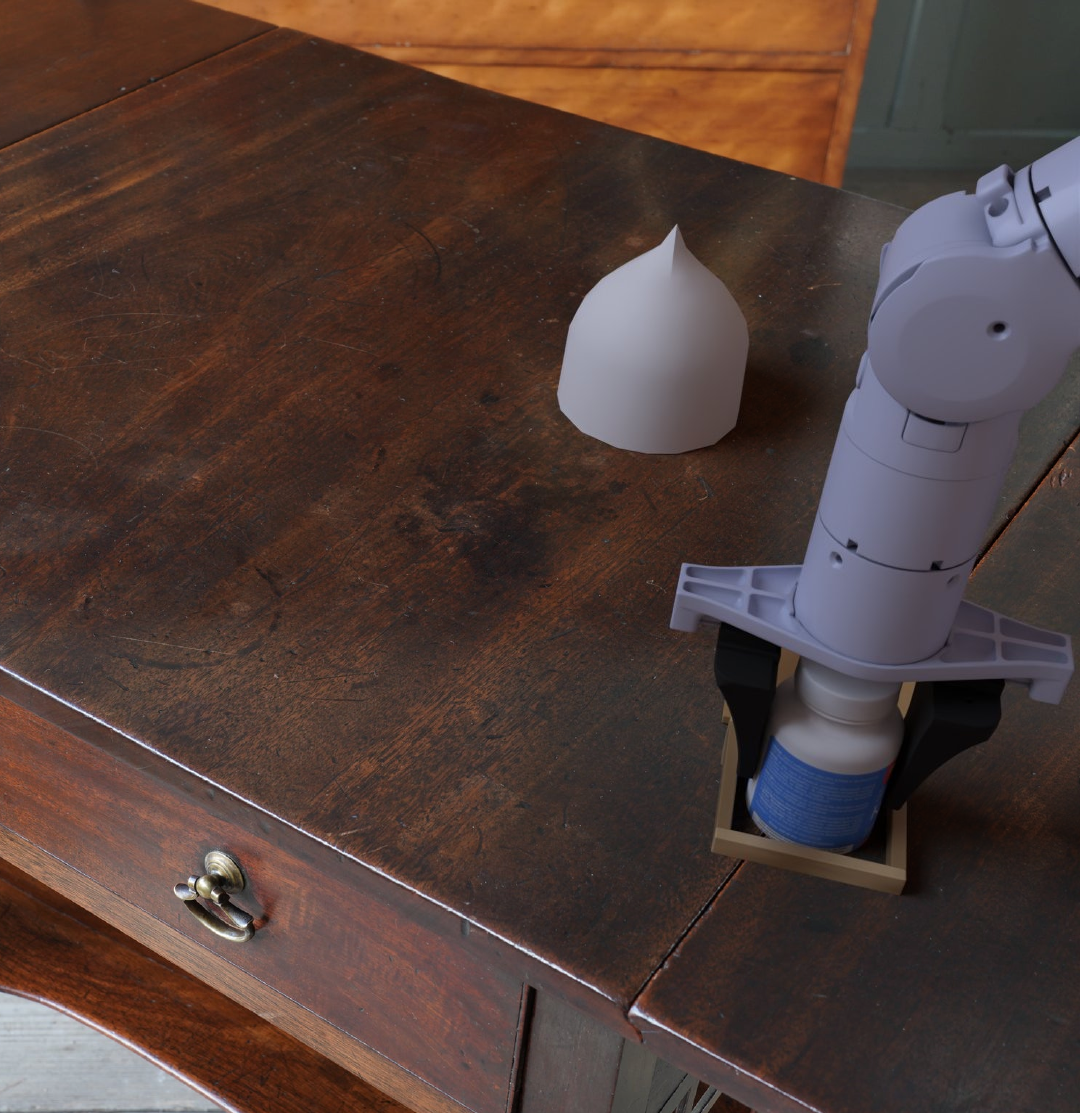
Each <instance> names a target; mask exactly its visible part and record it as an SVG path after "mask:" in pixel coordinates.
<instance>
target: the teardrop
mask: <svg viewBox="0 0 1080 1113" xmlns="http://www.w3.org/2000/svg"><path fill="white" fill-rule="evenodd" d="M749 347H750V338H749V330H748V323H747V320H746V318H745V316H744V314H743V312H742V310H741V308H740V307H739V304H738V303H737V301H736V300H735V298H734V297H733V295H732V294H731V292H730V290H729V289H728V288H727V286H726V285H725V283H724V282H723V281H722V280H721V279H720V278H718V276H717V275H715V274H714V273H713V272H712V271H711V270H709V269H708V268H707V267H706V266H705V265H704V264H703V263H702V262H701V261H700V260H698V259H697V258H696V256H695V255H694V254H693V253H692V252H691V251H690V250H689V249H688V247H687V246H686V243H685V241H684V237H683V236H682V233H681V230H680V228H679V225H678V223H676V224H675V225H674V227H673V228H672V229H671V231H670V232H669V233H668V234H667V236H666V237H665V238H664V240H663V241H662V242H661V244H659V245H657V246H655V247H654V248H652V249H650V250H648V251H646V252H644V253H642V254H641V255H638V256H637V257H635V258H633V259H632V260H629V261H628V262H626V263H624V264H623V265H620V266H619V267H618V268H615V270H613V271H611V272H610V273H608V274H606V275H605V276H604V277H602V278H601V279H600V280H599V281H598V282H597V283H596V284H595V285H594V287H593V288H592V289H590V291H588V293H587V294H586V295H585V296H584V298H583V299H582V301H581V302H580V305H579V306H578V309H577V310H576V313H575V314H574V316H573V319H572V321H571V322H570V324H569V326H568V332H567V337H566V342H565V348H564V354H563V359H562V365H561V370H560V375H559V382H558V387H557V391H556V392H557V393H556V395H557V401H558V405H559V410H560V411H561V413H563V414H564V415H565V417H566V418H567V419H568V420H569V421H570V422H571V423H572V424H573V425H574V426H575V427H576V428H577V429H578V430H579V431H580V432H581V433H583V434H585V435H587V436H590V437H592V438H594V439H597V440H599V441H601V442H603V443H605V444H608V445H610V446H612V447H614V448H617V449H620V450H621V449H622V450H626V451H631V452H636V453H642V454H647V455H648V454H649V455H652V454H653V455H654V454H656V455H657V454H658V455H661V454H662V455H665V454H667V455H668V454H669V455H670V454H671V455H677V454H683V453H686V452H690V451H694V450H698V449H702V448H705V447H709V446H714V445H716V444H717V443H718V442H719V441H720V440H721V439H722V438H723V437H724V436H726V435H728V433H729V432H731V431H732V430H733V429H734V428H736V425H737V420H738V417H739V412H740V405H741V400H742V399H741V398H742V392H743V386H744V378H745V373H746V368H747V367H746V366H747V359H748V354H749Z"/></svg>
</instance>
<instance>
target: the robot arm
mask: <svg viewBox="0 0 1080 1113" xmlns="http://www.w3.org/2000/svg"><path fill="white" fill-rule="evenodd" d="M876 287H877V288H876V292H875V294H874V300H873V304H872V307H871V312H870V315H869V320H868V326H867V348H866V350H865V351H864V353H863V354H862V356H861V359H860V362H859V366H858V370H857V374H856V378H855V384H856V386H855V388H854V389H853V390H852V391H851V393H850V395H849V396H848V399H847V400H846V403H845V406H844V410H843V413H842V418H841V422H840V425H839V428H838V432H837V436H836V439H835V444H834V448H833V451H832V454H831V458H830V461H829V466H828V469H827V473H826V476H825V480H824V484H823V487H822V492H821V496H820V500H819V504H818V508H817V512H816V514H815V519H814V523H813V526H812V530H811V533H810V538H809V541H808V543H807V544H808V545H807V548H806V552H805V556H804V560H803V563H802V564H785V565H783V564H782V565H781V564H780V565H755V566H754V565H751V566H750V565H749V566H747V565H746V566H711V565H701V564H694V563H688V562H682V564H681V567H680V572H679V577H678V582H677V588H676V593H675V597H674V602H673V608H672V613H671V617H670V622H669V623H670V624H669V629H671V630H675V631H680V632H686V633H696V632H698V630H699V628H700V624H701V625H704V626H710V627H715V628H718V633H717V639H716V646H715V654H714V659H713V672H714V677H715V682H716V686H717V688H718V689H719V691H720V693H721V695H722V697H723V698H724V699H723V700H725V701H726V703H727V706H728V708H729V711H730V714H731V717H732V720H733V724H734V729H735V733H736V740H737V748H738V762H737V770H736V774H737V777H741V778H745V779H749V778H750V779H753V777H754V774H755V771H756V768H757V761H758V754H759V747H760V740H761V735H762V731H763V727H764V724H765V721H766V718H767V715H768V712H769V709H770V707H771V704H772V701H773V699H774V696H775V694H776V685H777V675H778V665H779V662H780V658H781V648H785V649H787V650H789V651H792V652H794V653H796V654H798V655H801V656H803V657H805V658H807V659H810V660H812V661H814V662H817V663H819V664H821V665H823V666H826V667H828V668H830V669H832V670H835V671H837V672H840V673H842V674H845V675H848V676H851V677H855V678H858V679H863V680H868V681H875V682H916V684H915V687H914V691H913V694H912V698H911V701H910V704H909V707H908V710H907V713H906V715H905V717H904V725H905V733H904V739H903V743H902V746H901V749H900V752H899V755H898V758H897V761H896V763H895V766H894V769H893V772H892V774H891V777H890V780H889V783H888V786H887V789H886V791H885V794H884V798H883V800H882V808H884V809H887V808H888V809H893V810H897V811H898V810H900V809H901V808H902V806H903V805H904V804H905V802H906V801H907V802H908V800H909V799H910V797H911V796H912V795H913V794H914V792H916V790H917V789H918V788H919V787H920V786H921V785H922V784H923V783H925V781H927V779H928V778H929V777H930V776H932V774H934V773H935V772H936V771H937V770H938V769H939V768H940V767H942V766H943V765H944V764H946V763H947V762H948V761H950V760H951V759H952V758H954V757H956V756H958V755H959V754H961V753H962V752H965V751H966V750H968V749H970V748H973V747H975V746H977V745H979V744H980V745H981V744H983V743H985V742H988V741H989V740H990V738H991V737H992V736H993V735H994V733H995V732H996V730H997V728H998V727H999V725H1000V722H1001V719H1002V699H1001V696H1002V693H1003V691H1004V689H1005V687H1006V685H1011V686H1016V687H1020V688H1021V687H1022V688H1026V689H1027V695H1028V697H1029V698H1030V699H1031V700H1033V701H1036V702H1040V703H1046V704H1050V705H1055V706H1058V705H1060V704H1061V700H1062V698H1063V696H1064V694H1065V691H1066V689H1067V687H1068V685H1069V683H1070V681H1071V678H1072V676H1073V673H1074V672H1075V658H1074V652H1073V645H1072V643H1073V642H1072V636H1071V635H1070V634H1068V633H1062V632H1058V631H1053V630H1048V629H1046V628H1042V627H1040V626H1039V627H1038V626H1035V625H1032V624H1029V623H1027V622H1023V621H1020V620H1018V619H1015V618H1012V617H1010V616H1007V615H1005V614H1003V613H1000V612H997V611H996V610H993V609H990V608H988V607H985V606H982V605H980V604H977V603H975V602H973V601H971V600H967V599H965V598H963V596H964V593H965V591H966V588H967V586H968V583H969V579H970V577H971V574H972V572H973V569H974V565H975V564H976V561H977V557H978V555H979V552H980V549H981V546H982V544H983V541H984V539H985V536H986V532H987V530H988V527H989V525H990V521H991V519H992V516H993V513H994V511H995V507H996V505H997V503H998V500H999V497H1000V495H1001V491H1002V489H1003V486H1004V483H1005V480H1006V478H1007V475H1008V473H1009V469H1010V467H1011V464H1012V461H1013V459H1014V456H1015V453H1016V451H1017V448H1018V444H1019V436H1020V435H1019V434H1020V433H1019V432H1020V431H1019V424H1020V422H1021V418H1022V415H1023V413H1024V411H1027V410H1031V409H1032V408H1034V407H1036V406H1037V405H1038V404H1040V403H1041V402H1042V401H1043V400H1044V399H1045V398H1046V397H1048V395H1049V394H1050V393H1051V392H1052V391H1053V390H1054V389H1055V388H1056V386H1057V385H1058V384H1059V383H1060V380H1061V379H1062V377H1063V375H1064V373H1065V371H1066V370H1067V368H1068V364H1069V363H1070V360H1071V358H1072V356H1073V355H1074V353H1075V352H1076V351H1078V350H1079V349H1080V135H1078V136H1077V137H1075V138H1073V139H1072V140H1070V141H1068V142H1067V143H1064V144H1063V145H1061V146H1059V147H1058V148H1056V149H1054V150H1053V151H1050V152H1049V153H1047V154H1045V155H1044V156H1042V157H1041V158H1039V159H1037V160H1035V161H1033V162H1031V163H1030V164H1028V165H1026V166H1025V167H1023V168H1021V169H1020V170H1018V171H1017V172H1014V171H1013V169H1012V168H1011V167H1010V166H1009V165H1008V164H1005V163H1004V164H1001V165H999V166H998V167H996V168H995V169H993V170H991V171H990V172H988V173H986V174H985V175H983V176H981V177H980V178H978V180H977V183H976V188H975V193H971V194H967V190H966V189H965V190H959V191H955V192H952V193H951V192H950V193H948V194H945V195H942V196H940V197H937V198H935V199H933V200H931V201H928V202H927V203H925V204H924V205H922V206H920V207H919V208H918V209H916V210H915V211H913V213H911V214H910V215H909V216H908V217H907V218H905V220H903V222H902V223H901V224H900V225H899V227H898V228H897V229H896V231H895V235H894V237H893V239H892V240H890V241H889V242H886V243H885V244H883V246H882V248H881V252H880V259H879V279H878V283H877V286H876Z"/></svg>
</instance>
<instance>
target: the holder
mask: <svg viewBox="0 0 1080 1113" xmlns="http://www.w3.org/2000/svg"><path fill="white" fill-rule="evenodd" d="M724 736H725V737H724V740H723V744H722V748H721V756H720V760H719V761H720V763H719V765H721V774H720V781H719V789H718V796H717V803H716V810H715V819H714V825H713V833H712V842H711V849H710V852H711V853H713V854H717V855H722V856H725V857H729V858H734V859H739V860H744V861H748V862H752V863H756V864H761V865H764V866H770V867H773V868H777V869H782V870H787V871H790V872H794V873H795V872H796V873H799V874H803V875H809V876H813V877H818V878H821V879H826V880H831V881H833V882H838V883H843V884H848V885H852V886H856V887H860V888H864V889H868V890H873V891H876V892H881V893H886V894H890V895H895V896H901V894H902V892H903V890H904V887H905V885H906V883H907V862H908V861H907V858H908V856H907V851H908V850H907V841H908V840H907V838H908V836H907V831H908V829H907V825H908V820H907V817H908V816H907V813H908V812H907V811H908V809H907V808H908V806H907V804H908V803H907V802H908V800H907V801H906V802H905V804H904V805H903V806H902V808H901V809H900V810H898V811H897V810H893V809H888V808H886V824H885V826H886V828H885V829H886V830H885V832H886V833H885V864H884V863H878V862H874V861H870V860H865V859H862V858H856V857H852V856H847V855H845V854H842V855H839V854H835V853H830V852H826V851H822V850H817V849H813V848H808V847H804V846H799V845H795V844H791V843H786V842H782V841H777V840H773V839H771V838H769V837H763V836H759V835H755V834H751V833H746V832H741V831H737V830H733V829H732V822H733V815H734V808H735V807H734V806H735V799H736V790H737V782H738V775H737V774H736V770H737V762H738V748H737V740H736V733H735V729H734V724H733V720H732V717H731V716H730V720H729V724H727V729H726V732H725V735H724Z"/></svg>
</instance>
